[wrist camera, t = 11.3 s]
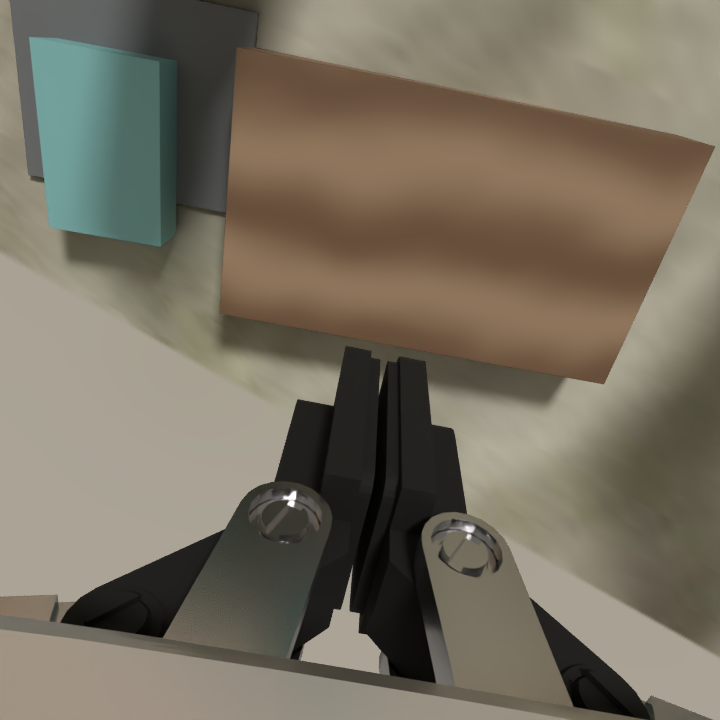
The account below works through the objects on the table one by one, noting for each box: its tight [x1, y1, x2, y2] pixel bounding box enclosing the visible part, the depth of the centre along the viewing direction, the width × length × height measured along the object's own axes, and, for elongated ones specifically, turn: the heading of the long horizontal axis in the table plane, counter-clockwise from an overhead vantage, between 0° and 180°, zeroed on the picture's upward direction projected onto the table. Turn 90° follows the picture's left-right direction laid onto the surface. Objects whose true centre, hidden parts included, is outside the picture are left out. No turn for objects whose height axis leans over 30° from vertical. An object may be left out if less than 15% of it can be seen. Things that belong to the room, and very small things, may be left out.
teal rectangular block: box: [29, 37, 177, 247], centre depth 29 cm, size 9×6×2 cm, turn 170°
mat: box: [10, 0, 259, 213], centre depth 29 cm, size 10×12×1 cm
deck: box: [220, 47, 715, 384], centre depth 30 cm, size 13×22×4 cm, turn 80°
